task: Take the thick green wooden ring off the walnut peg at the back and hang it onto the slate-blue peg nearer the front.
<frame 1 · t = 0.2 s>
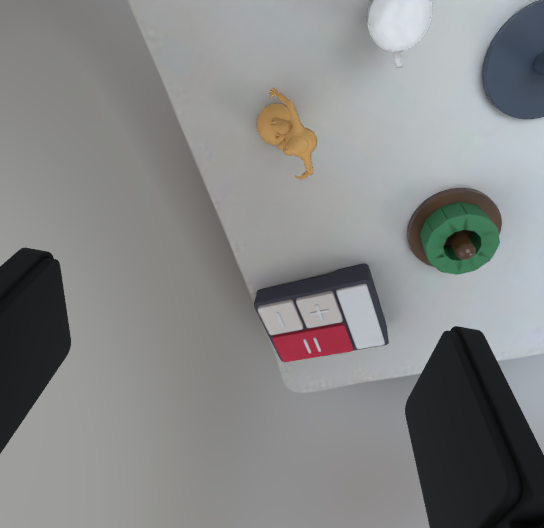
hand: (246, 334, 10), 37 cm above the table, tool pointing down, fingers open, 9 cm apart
milkshake: (383, 17, 38), on the table
ring: (454, 232, 47), point 1 cm above the table, touching walnut peg
walnut peg: (452, 228, 48), on the table
calculator: (321, 307, 56), on the table
figurine: (287, 115, 43), on the table
slate peg: (540, 60, 38), on the table
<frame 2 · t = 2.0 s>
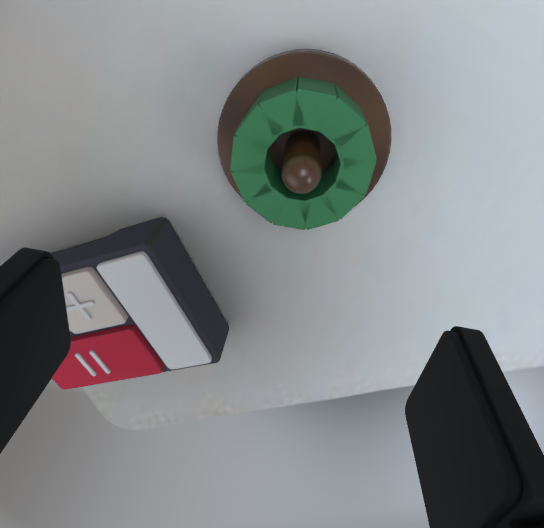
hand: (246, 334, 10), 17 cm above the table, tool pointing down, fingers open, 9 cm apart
ring: (302, 147, 24), point 1 cm above the table, touching walnut peg
walnut peg: (303, 142, 25), on the table
calculator: (118, 297, 33), on the table
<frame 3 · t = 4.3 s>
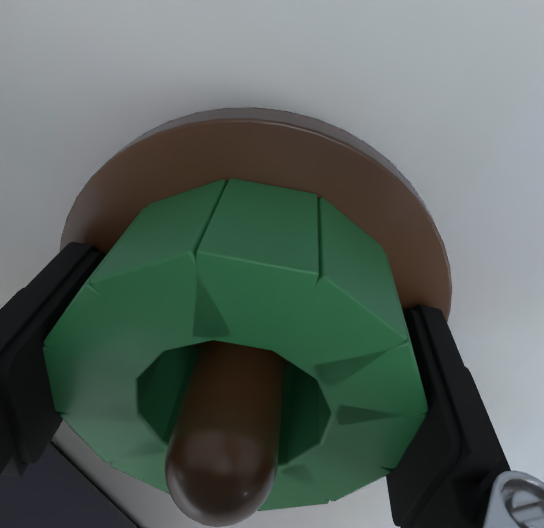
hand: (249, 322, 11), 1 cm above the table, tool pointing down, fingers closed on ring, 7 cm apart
ring: (250, 316, 11), point 1 cm above the table, touching gripper, walnut peg
walnut peg: (254, 292, 12), on the table
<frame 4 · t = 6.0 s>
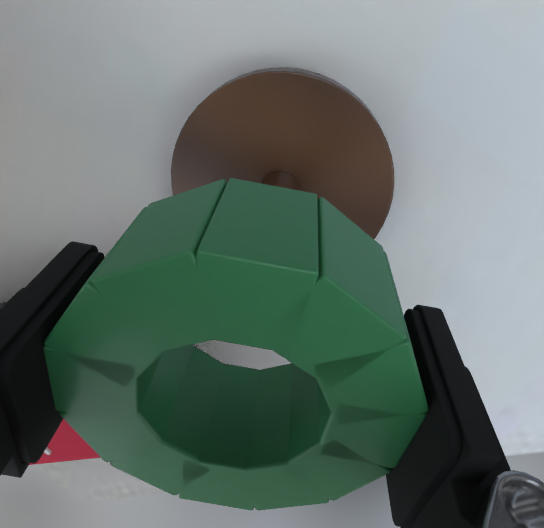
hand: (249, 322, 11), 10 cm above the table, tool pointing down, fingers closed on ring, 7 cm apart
ring: (250, 316, 11), point 10 cm above the table, touching gripper
walnut peg: (281, 184, 20), on the table
calculator: (65, 359, 28), on the table
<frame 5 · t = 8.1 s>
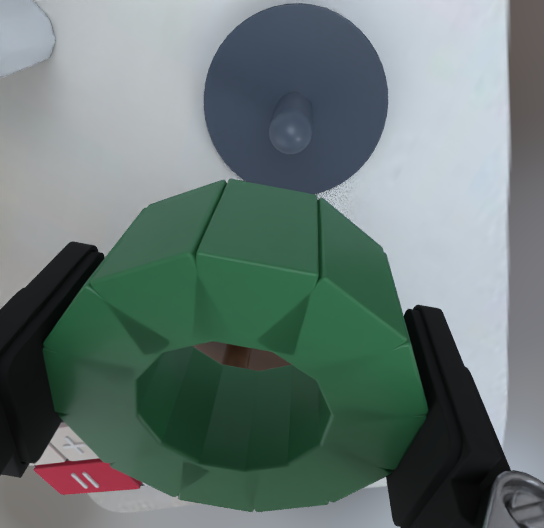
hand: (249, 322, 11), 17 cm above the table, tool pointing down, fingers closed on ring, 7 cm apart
milkshake: (30, 38, 23), on the table
ring: (250, 317, 11), point 16 cm above the table, touching gripper
walnut peg: (241, 336, 33), on the table
calculator: (106, 423, 42), on the table
slate peg: (294, 107, 23), on the table
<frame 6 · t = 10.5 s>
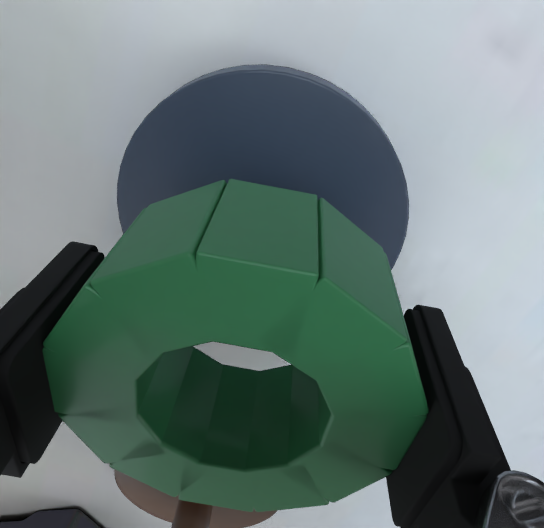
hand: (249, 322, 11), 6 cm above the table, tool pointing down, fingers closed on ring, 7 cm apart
ring: (250, 317, 11), point 5 cm above the table, touching gripper
walnut peg: (202, 472, 25), on the table
slate peg: (262, 214, 15), on the table
when the fingers open (1 cm above the table, at t = 12.2 s): ring stays where it is, resting on slate peg.
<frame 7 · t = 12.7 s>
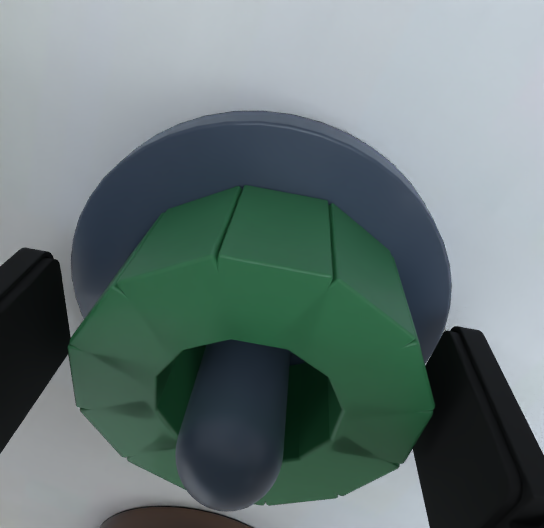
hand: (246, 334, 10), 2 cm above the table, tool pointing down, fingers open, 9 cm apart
ring: (261, 317, 11), point 1 cm above the table, touching slate peg
slate peg: (259, 290, 12), on the table
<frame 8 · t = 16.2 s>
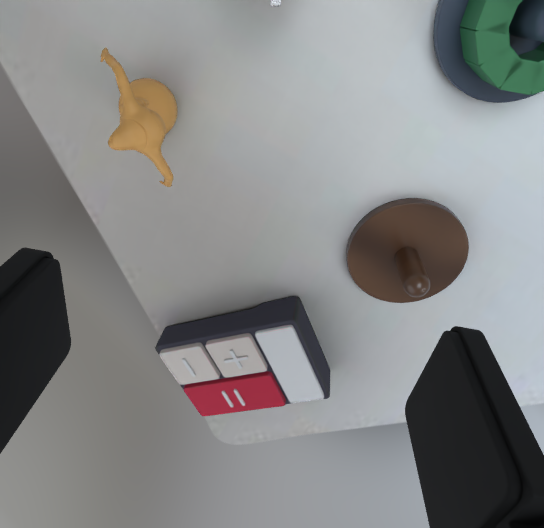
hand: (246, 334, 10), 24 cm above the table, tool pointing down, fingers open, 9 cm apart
ring: (524, 19, 26), point 1 cm above the table, touching slate peg
walnut peg: (404, 250, 36), on the table
calculator: (248, 348, 45), on the table
figurine: (170, 97, 31), on the table
slate peg: (515, 16, 26), on the table
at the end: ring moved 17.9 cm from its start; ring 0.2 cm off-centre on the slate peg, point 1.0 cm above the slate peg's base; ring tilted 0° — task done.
